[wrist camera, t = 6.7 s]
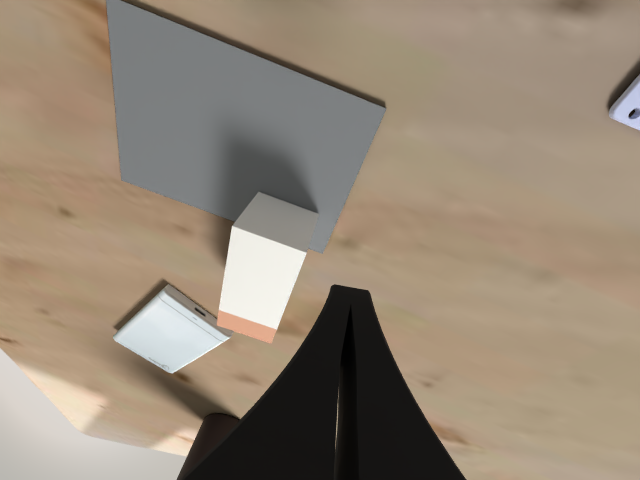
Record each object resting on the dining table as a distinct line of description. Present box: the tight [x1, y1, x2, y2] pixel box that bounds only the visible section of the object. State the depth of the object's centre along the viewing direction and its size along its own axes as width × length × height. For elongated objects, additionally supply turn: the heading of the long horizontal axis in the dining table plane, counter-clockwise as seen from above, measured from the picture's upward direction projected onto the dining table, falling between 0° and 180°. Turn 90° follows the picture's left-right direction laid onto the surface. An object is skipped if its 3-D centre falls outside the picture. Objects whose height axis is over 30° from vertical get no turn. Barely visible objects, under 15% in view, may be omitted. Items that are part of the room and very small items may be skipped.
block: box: [217, 192, 319, 343], centre depth 21 cm, size 4×4×10 cm
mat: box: [106, 0, 386, 254], centre depth 18 cm, size 16×11×1 cm
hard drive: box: [113, 284, 234, 373], centre depth 31 cm, size 2×8×12 cm
